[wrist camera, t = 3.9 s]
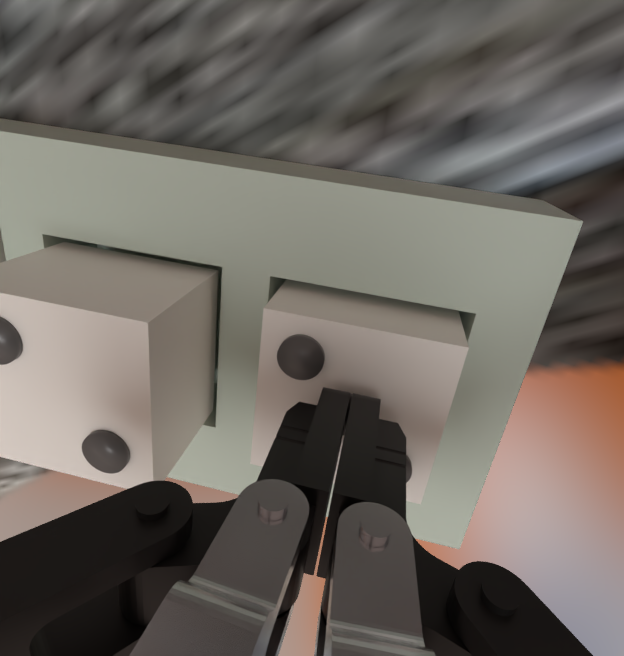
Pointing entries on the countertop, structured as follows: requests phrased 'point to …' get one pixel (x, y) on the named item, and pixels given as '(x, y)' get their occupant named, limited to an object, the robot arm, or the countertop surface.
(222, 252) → the tap board
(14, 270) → the tile two
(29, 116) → the countertop surface
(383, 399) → the tile three
